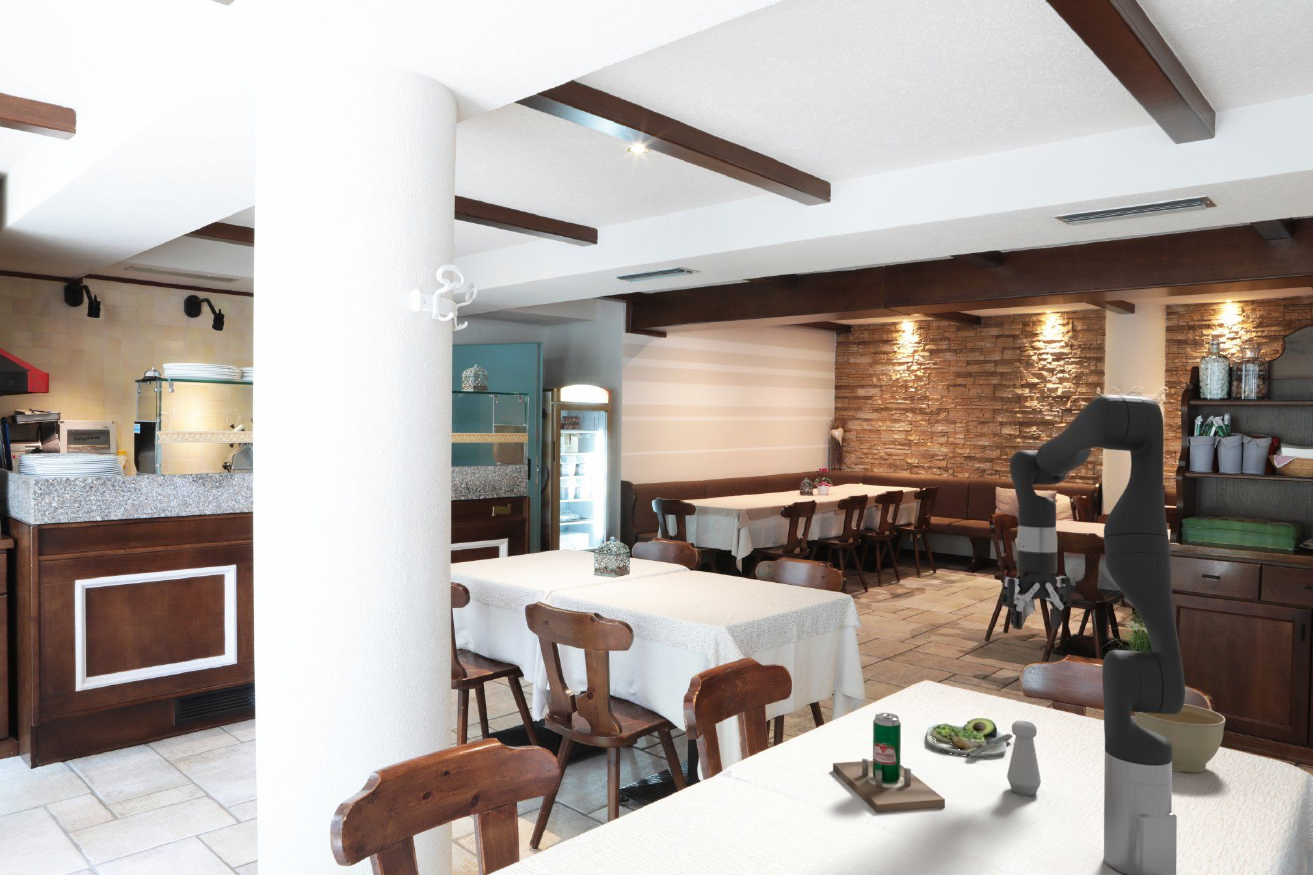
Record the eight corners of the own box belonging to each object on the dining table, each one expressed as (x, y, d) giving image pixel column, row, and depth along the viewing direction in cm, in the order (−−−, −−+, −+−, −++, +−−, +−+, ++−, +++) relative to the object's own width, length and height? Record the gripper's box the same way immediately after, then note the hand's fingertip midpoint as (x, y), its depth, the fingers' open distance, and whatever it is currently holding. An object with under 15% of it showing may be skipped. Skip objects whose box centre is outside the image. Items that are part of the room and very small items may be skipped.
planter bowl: (1243, 773, 174) (1244, 719, 174) (1186, 784, 168) (1187, 728, 168) (1170, 747, 189) (1170, 696, 189) (1115, 756, 183) (1115, 704, 183)
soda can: (869, 781, 164) (869, 717, 164) (876, 771, 169) (877, 710, 169) (896, 786, 162) (896, 722, 162) (903, 777, 166) (903, 714, 166)
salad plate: (1014, 769, 176) (1014, 746, 176) (922, 757, 183) (922, 735, 183) (1012, 739, 194) (1012, 718, 194) (928, 729, 201) (928, 708, 201)
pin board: (944, 807, 157) (945, 782, 157) (877, 812, 154) (877, 787, 154) (893, 766, 176) (893, 744, 176) (832, 770, 174) (833, 747, 174)
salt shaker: (1043, 799, 161) (1044, 728, 161) (1010, 796, 162) (1011, 726, 162) (1036, 786, 166) (1036, 718, 167) (1004, 784, 168) (1005, 716, 168)
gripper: (1016, 551, 172) (1015, 633, 172) (1080, 550, 175) (1079, 631, 175) (994, 546, 179) (993, 625, 179) (1056, 545, 182) (1055, 623, 182)
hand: (1036, 628), depth 177 cm, fingers open, 8 cm apart
